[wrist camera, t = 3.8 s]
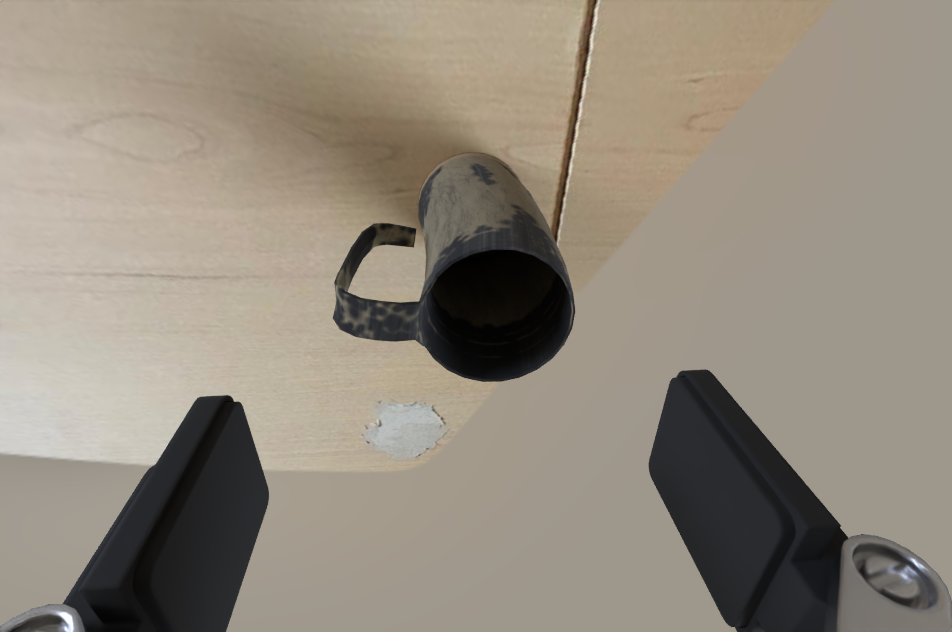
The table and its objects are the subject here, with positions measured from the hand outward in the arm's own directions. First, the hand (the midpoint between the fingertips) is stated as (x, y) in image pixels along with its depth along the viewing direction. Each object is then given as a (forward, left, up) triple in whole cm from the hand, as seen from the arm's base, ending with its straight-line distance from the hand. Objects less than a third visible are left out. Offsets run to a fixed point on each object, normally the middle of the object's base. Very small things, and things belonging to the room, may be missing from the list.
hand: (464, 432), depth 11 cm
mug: (0, 0, -16) cm, 16 cm away
